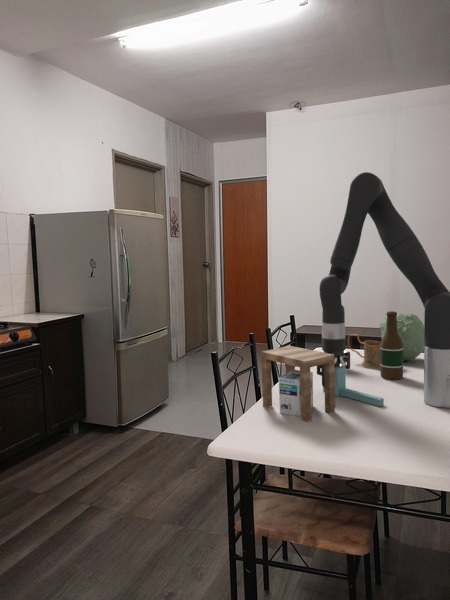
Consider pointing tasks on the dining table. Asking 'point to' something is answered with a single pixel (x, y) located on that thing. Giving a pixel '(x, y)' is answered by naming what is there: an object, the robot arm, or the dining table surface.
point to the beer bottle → (391, 350)
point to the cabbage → (408, 334)
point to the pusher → (343, 391)
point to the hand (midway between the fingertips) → (333, 385)
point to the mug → (369, 353)
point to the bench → (304, 361)
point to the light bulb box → (292, 392)
